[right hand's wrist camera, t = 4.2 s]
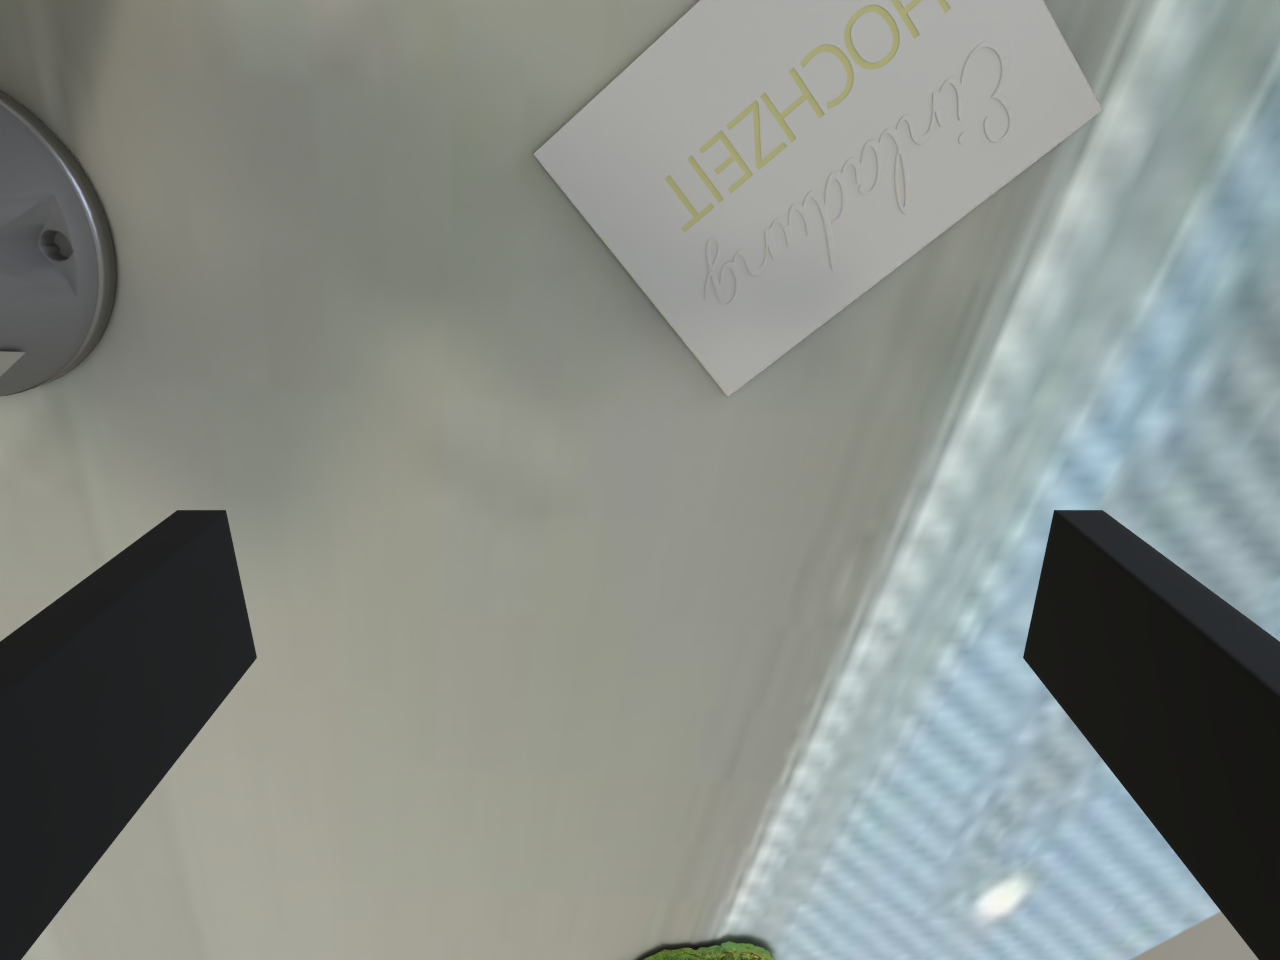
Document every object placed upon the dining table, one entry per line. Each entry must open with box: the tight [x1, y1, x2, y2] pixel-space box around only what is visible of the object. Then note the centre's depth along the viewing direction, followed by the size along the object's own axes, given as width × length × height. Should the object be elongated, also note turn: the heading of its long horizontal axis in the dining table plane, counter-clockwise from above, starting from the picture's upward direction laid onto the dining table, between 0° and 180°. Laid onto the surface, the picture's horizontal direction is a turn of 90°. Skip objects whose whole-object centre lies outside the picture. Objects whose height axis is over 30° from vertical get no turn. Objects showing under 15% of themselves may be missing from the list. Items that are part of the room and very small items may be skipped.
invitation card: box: [534, 0, 1103, 397], centre depth 36 cm, size 21×1×15 cm
